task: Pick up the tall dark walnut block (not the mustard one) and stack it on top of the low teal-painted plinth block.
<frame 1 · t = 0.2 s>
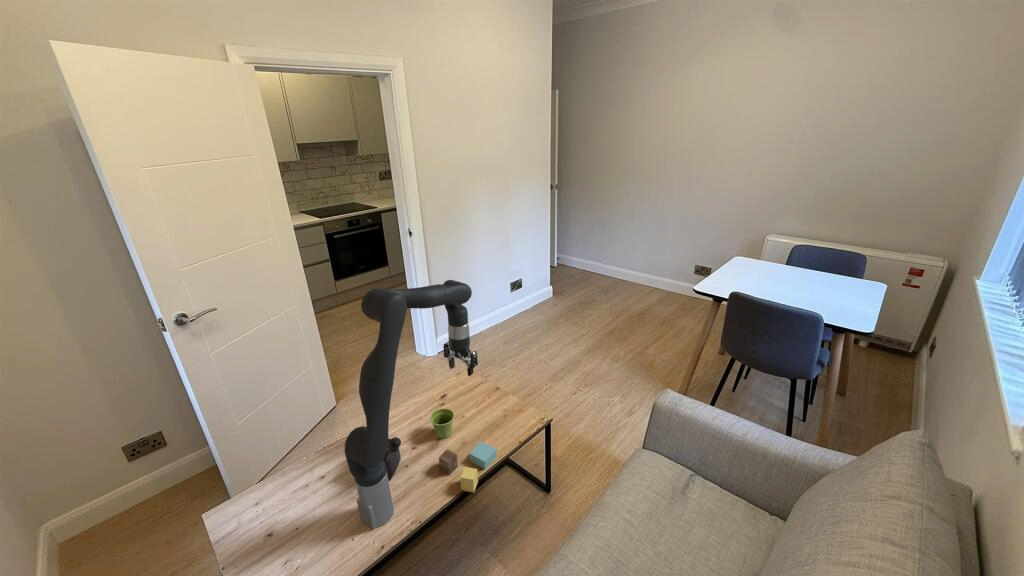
hand: (461, 371, 153), 28 cm above the table, fingers open, 8 cm apart
teal plinth block: (483, 459, 151), on the table
walnut block: (449, 468, 148), on the table
plant pot: (443, 433, 163), on the table
mustard block: (469, 485, 141), on the table
dark brown ornament: (388, 469, 148), on the table
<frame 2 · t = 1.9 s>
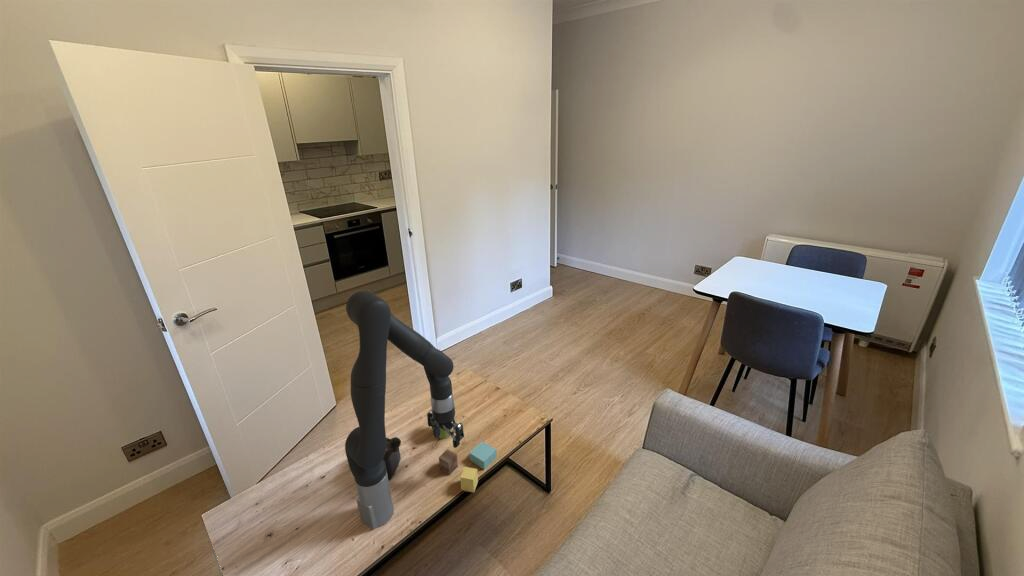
hand: (446, 441, 143), 12 cm above the table, fingers open, 8 cm apart
nothing on the table moved.
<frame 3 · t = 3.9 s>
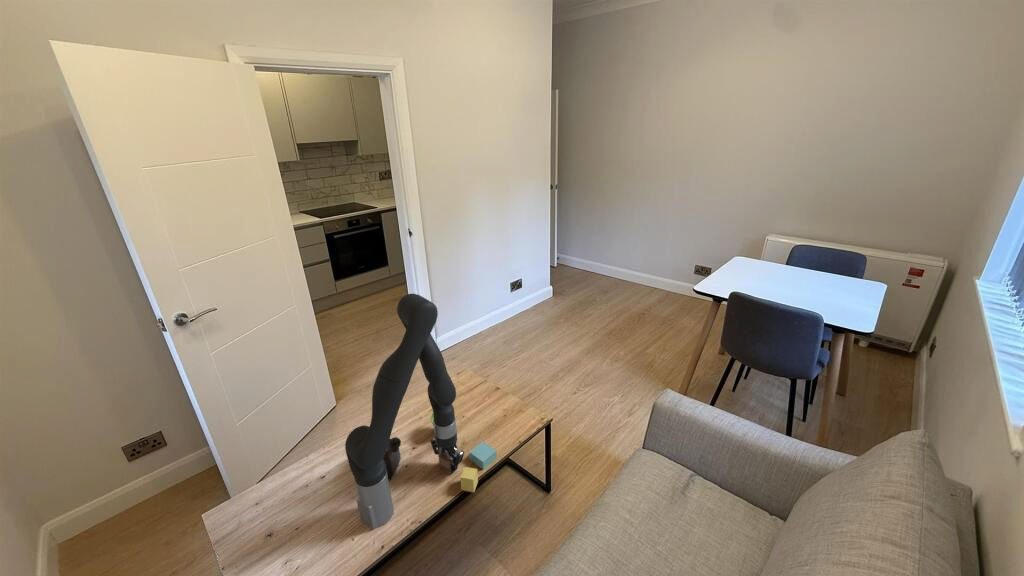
hand: (448, 466, 147), 1 cm above the table, fingers closed on walnut block, 4 cm apart
walnut block: (449, 468, 148), on the table, touching gripper
everything else where it was.
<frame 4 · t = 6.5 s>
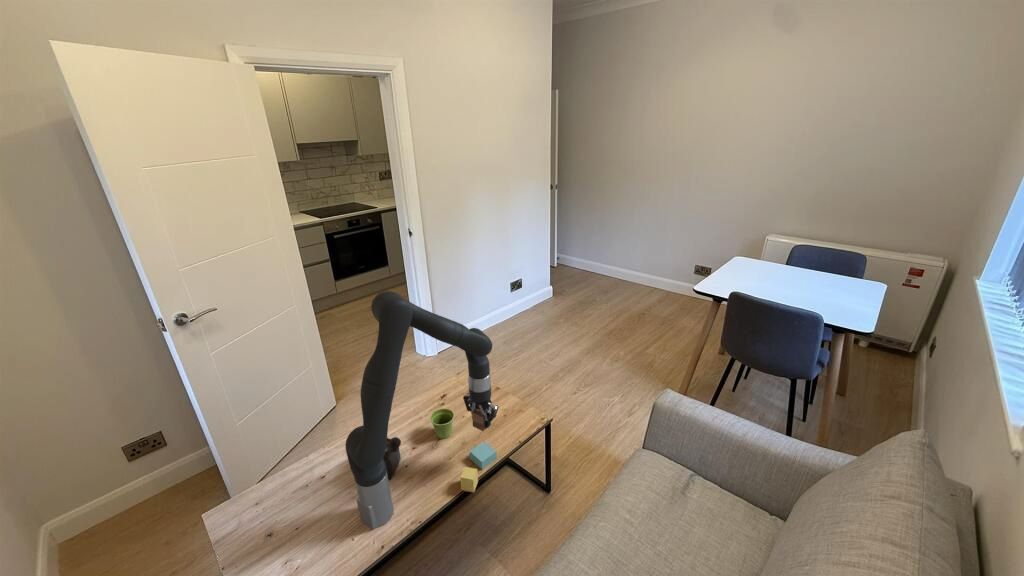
hand: (481, 423, 145), 17 cm above the table, fingers closed on walnut block, 4 cm apart
walnut block: (481, 424, 145), point 16 cm above the table, touching gripper
everything else where it was.
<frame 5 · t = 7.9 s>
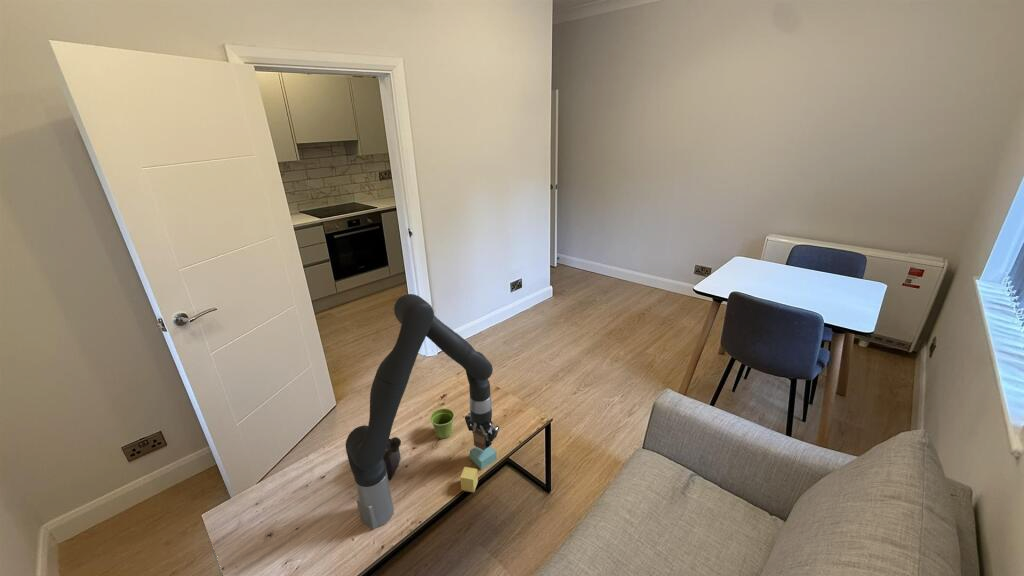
hand: (482, 443, 148), 8 cm above the table, fingers closed on walnut block, 4 cm apart
walnut block: (482, 444, 149), point 7 cm above the table, touching gripper
everything else where it was.
when the fingers open (5 cm above the table, at t = 9.2 s): walnut block drops 1 cm, resting on teal plinth block.
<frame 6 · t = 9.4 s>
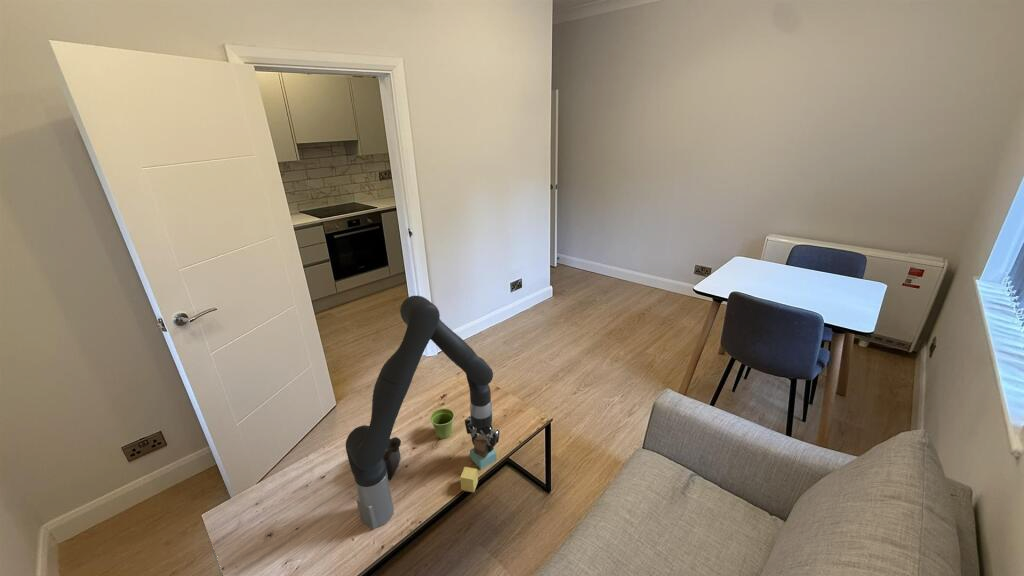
hand: (482, 447, 149), 6 cm above the table, fingers open, 6 cm apart
teal plinth block: (483, 459, 152), on the table, touching walnut block
walnut block: (483, 451, 150), point 4 cm above the table, touching teal plinth block
everything else where it was.
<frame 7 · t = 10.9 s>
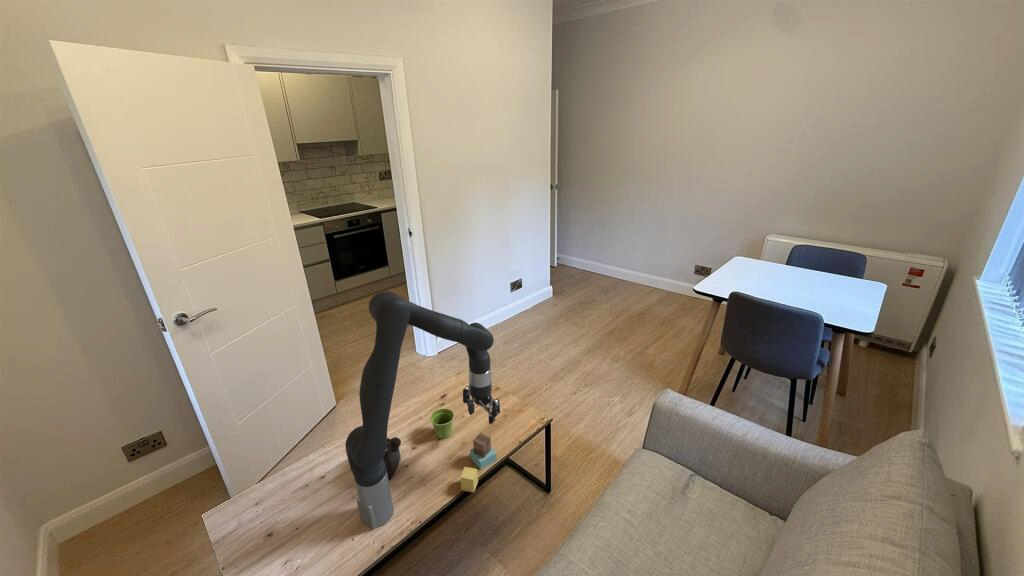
hand: (481, 418, 144), 19 cm above the table, fingers open, 8 cm apart
nothing on the table moved.
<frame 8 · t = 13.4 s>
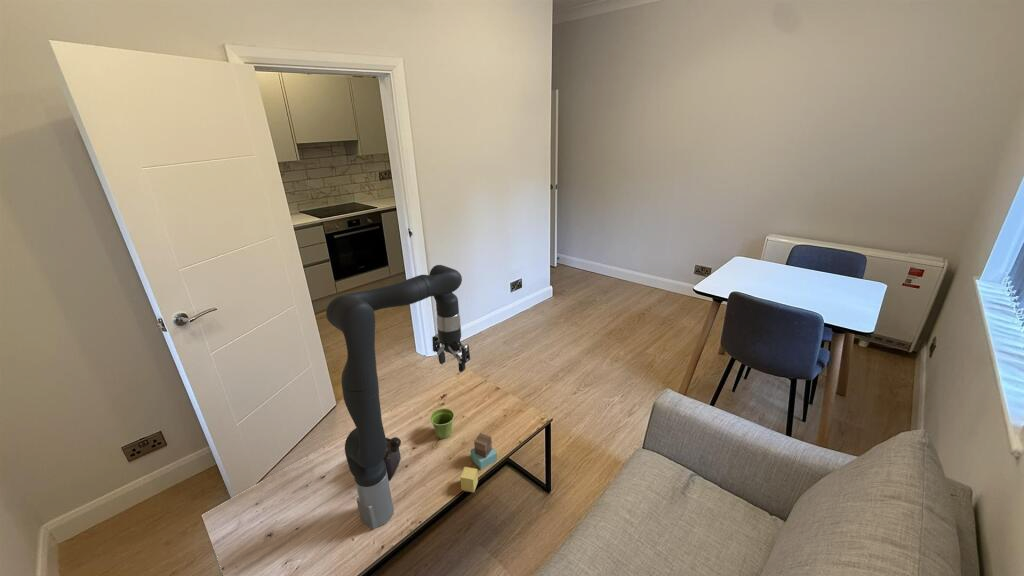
hand: (452, 366, 139), 38 cm above the table, fingers open, 8 cm apart
nothing on the table moved.
at the end: walnut block 0.1 cm off-centre on the teal plinth block, point 4.0 cm above the teal plinth block's base; walnut block tilted 0°; the gripper is holding nothing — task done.
